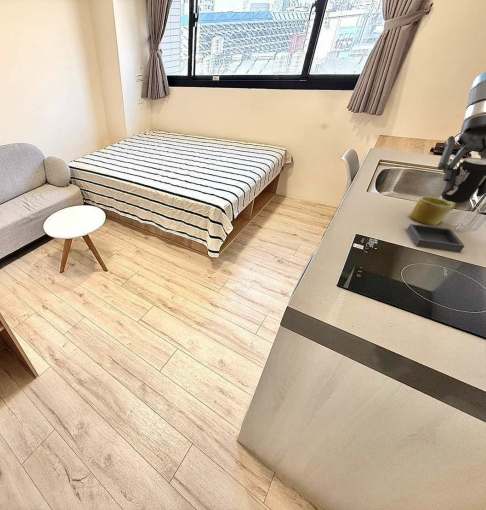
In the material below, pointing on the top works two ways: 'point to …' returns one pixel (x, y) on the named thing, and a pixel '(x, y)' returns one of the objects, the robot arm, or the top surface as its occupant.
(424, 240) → the dark grey tray
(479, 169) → the beverage can
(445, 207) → the mug
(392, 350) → the top surface
